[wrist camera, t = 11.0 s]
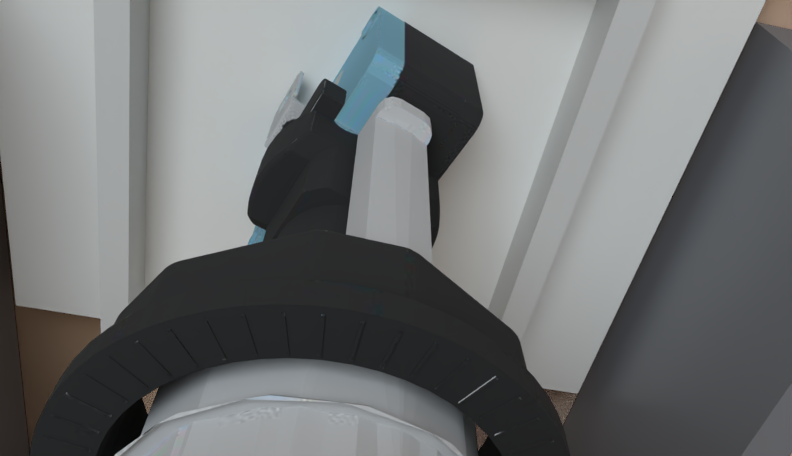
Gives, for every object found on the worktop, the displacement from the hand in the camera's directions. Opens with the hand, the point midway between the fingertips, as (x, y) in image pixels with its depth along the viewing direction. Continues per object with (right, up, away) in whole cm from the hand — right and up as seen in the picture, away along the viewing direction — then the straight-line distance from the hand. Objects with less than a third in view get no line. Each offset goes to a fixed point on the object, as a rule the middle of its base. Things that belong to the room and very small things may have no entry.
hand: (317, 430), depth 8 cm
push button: (0, +4, +7) cm, 8 cm away
